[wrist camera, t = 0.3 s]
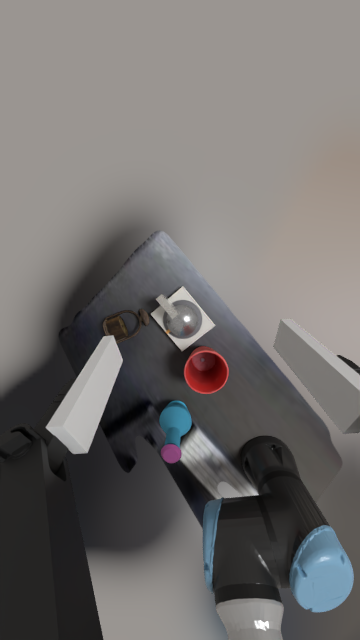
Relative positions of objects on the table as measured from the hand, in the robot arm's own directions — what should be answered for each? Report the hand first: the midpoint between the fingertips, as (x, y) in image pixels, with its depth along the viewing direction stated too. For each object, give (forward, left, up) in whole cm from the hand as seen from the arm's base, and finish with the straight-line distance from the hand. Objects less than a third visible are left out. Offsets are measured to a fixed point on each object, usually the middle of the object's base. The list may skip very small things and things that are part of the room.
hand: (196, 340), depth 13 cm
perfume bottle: (-21, +23, -34) cm, 46 cm away
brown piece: (+9, +17, -34) cm, 39 cm away
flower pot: (-13, +6, -34) cm, 37 cm away
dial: (+2, +3, -31) cm, 31 cm away
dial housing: (0, +3, -34) cm, 34 cm away
